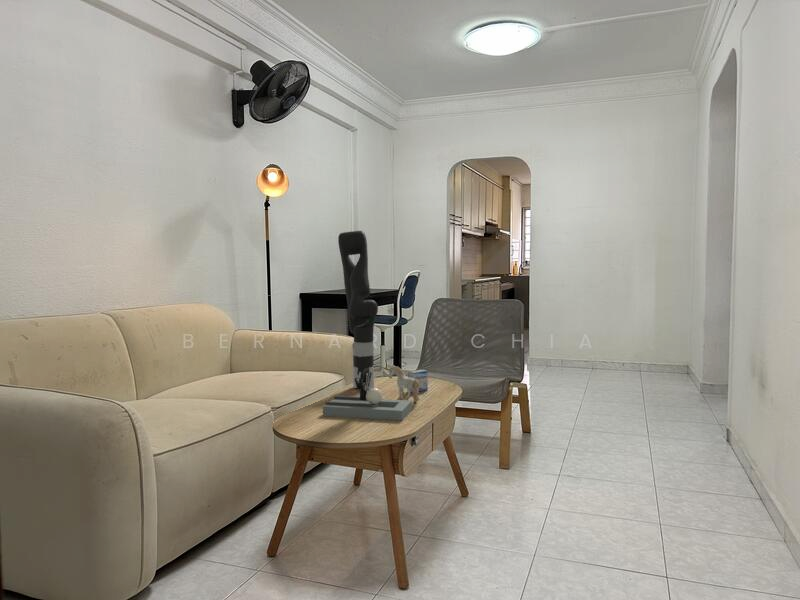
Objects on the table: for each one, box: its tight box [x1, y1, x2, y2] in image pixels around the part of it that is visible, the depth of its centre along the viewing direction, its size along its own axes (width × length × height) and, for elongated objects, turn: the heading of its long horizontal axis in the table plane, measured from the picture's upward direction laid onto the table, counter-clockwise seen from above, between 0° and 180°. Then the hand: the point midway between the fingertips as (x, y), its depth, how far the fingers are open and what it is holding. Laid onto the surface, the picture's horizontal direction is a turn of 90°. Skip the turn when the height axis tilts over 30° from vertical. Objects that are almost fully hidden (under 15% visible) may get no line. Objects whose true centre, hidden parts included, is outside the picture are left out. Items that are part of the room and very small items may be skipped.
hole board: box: [322, 395, 413, 421], centre depth 217 cm, size 15×30×4 cm, turn 75°
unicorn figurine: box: [379, 365, 420, 403], centre depth 235 cm, size 7×20×13 cm, turn 52°
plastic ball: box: [366, 387, 383, 404], centre depth 216 cm, size 6×6×6 cm
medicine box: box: [407, 369, 429, 393], centre depth 252 cm, size 8×4×9 cm, turn 129°
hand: (363, 399), depth 217 cm, fingers closed
